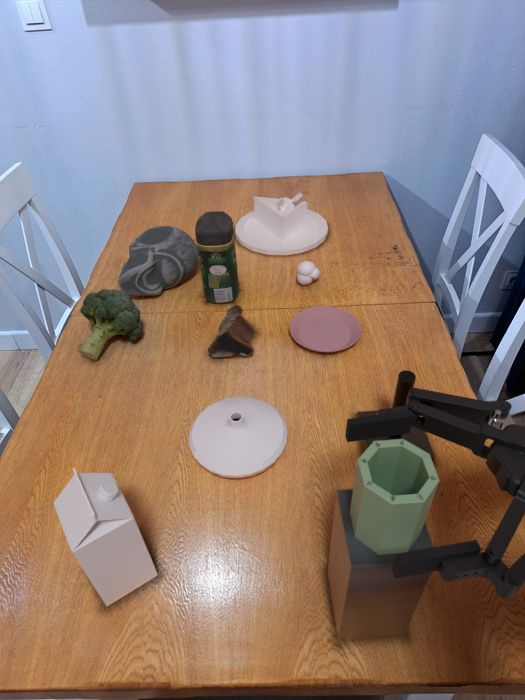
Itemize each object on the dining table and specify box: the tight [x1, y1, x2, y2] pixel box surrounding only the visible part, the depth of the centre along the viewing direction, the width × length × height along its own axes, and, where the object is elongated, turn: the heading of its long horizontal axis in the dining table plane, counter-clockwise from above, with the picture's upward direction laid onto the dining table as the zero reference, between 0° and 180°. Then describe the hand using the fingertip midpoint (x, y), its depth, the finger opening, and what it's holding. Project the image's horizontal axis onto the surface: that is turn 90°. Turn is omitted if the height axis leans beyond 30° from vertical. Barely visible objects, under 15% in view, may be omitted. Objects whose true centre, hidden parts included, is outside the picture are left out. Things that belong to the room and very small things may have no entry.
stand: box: [326, 488, 434, 640], centre depth 54 cm, size 8×8×20 cm
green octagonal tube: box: [350, 439, 440, 555], centre depth 45 cm, size 6×6×9 cm
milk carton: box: [53, 467, 159, 607], centre depth 59 cm, size 7×7×19 cm
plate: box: [289, 305, 362, 353], centre depth 99 cm, size 14×14×2 cm
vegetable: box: [77, 288, 144, 361], centre depth 97 cm, size 12×13×15 cm
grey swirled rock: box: [117, 225, 199, 296], centre depth 112 cm, size 11×16×20 cm
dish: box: [234, 192, 329, 256], centre depth 128 cm, size 25×25×11 cm
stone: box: [207, 304, 256, 359], centre depth 98 cm, size 9×6×15 cm
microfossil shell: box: [296, 260, 321, 286], centre depth 112 cm, size 4×5×6 cm
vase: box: [188, 395, 289, 479], centre depth 77 cm, size 16×16×7 cm
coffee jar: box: [194, 210, 240, 305], centre depth 105 cm, size 10×8×19 cm
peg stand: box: [356, 369, 436, 463], centre depth 75 cm, size 10×10×14 cm
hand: (368, 490), depth 43 cm, fingers open, 13 cm apart
